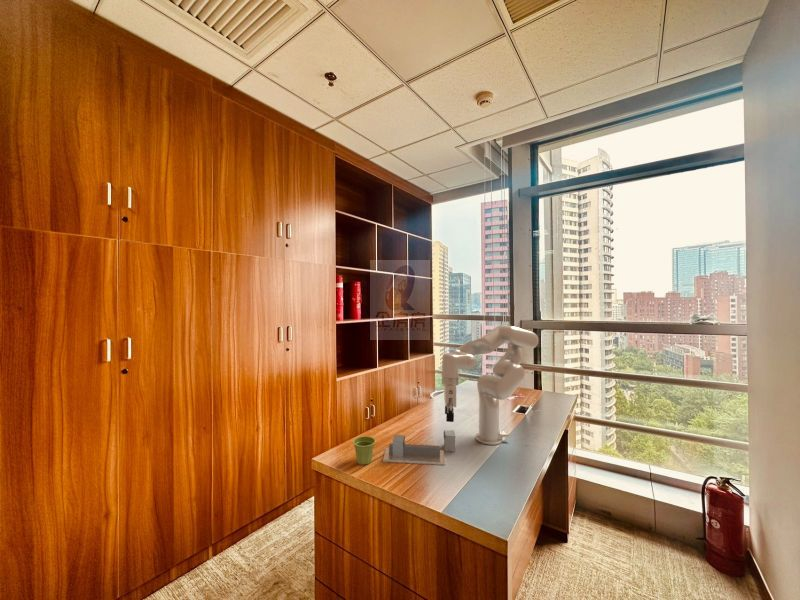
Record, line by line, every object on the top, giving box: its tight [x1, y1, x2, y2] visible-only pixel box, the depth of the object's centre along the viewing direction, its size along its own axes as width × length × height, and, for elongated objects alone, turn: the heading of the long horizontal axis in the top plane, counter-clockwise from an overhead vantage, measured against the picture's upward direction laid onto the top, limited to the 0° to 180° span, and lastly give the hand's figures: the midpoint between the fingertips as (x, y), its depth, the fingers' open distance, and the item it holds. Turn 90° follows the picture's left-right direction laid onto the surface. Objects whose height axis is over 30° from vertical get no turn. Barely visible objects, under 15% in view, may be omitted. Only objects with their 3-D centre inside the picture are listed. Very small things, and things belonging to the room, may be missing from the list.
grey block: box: [443, 429, 456, 452], centre depth 145 cm, size 5×6×7 cm
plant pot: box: [352, 435, 376, 466], centre depth 132 cm, size 9×9×9 cm
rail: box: [382, 434, 446, 466], centre depth 137 cm, size 26×11×8 cm, turn 86°
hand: (449, 417), depth 145 cm, fingers open, 9 cm apart
